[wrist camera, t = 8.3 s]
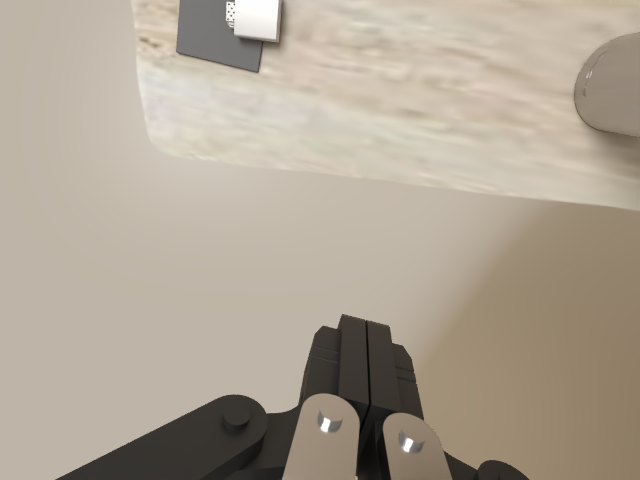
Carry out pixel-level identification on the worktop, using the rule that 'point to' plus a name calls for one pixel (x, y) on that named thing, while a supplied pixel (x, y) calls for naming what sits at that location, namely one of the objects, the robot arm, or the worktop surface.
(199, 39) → the mat
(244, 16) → the lighter
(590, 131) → the worktop surface
